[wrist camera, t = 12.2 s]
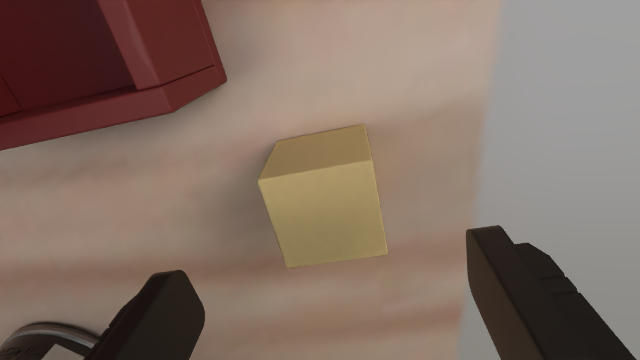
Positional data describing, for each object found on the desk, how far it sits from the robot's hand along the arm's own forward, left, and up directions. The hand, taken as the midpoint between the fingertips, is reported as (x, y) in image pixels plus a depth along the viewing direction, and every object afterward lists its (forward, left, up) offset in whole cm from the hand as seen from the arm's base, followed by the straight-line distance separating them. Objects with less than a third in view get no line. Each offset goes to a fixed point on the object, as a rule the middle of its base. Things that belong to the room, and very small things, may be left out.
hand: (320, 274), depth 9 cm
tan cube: (0, 0, -8) cm, 8 cm away
